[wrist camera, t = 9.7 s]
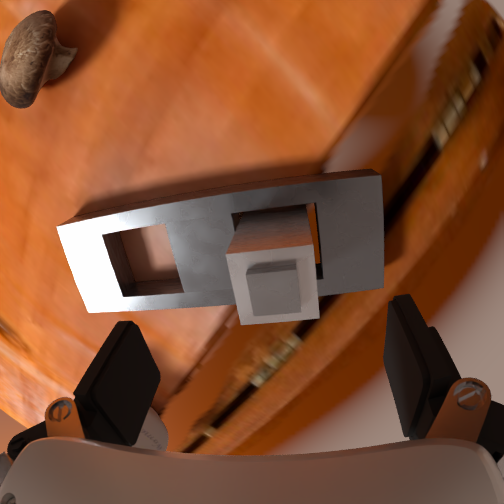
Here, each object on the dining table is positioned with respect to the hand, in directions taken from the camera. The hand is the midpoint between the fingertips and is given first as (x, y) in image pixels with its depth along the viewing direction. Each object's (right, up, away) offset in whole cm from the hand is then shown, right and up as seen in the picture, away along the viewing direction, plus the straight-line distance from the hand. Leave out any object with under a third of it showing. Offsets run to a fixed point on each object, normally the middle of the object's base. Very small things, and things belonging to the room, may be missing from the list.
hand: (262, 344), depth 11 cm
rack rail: (-3, +4, +13) cm, 14 cm away
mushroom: (-17, +19, +8) cm, 27 cm away
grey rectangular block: (+2, +5, +12) cm, 13 cm away
